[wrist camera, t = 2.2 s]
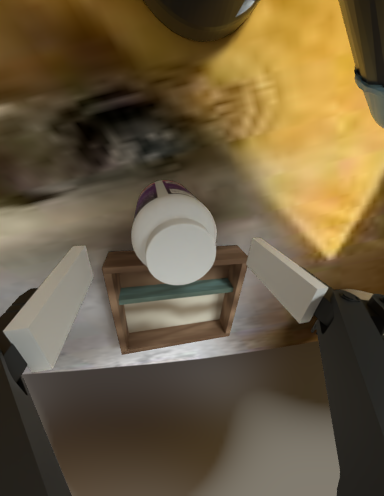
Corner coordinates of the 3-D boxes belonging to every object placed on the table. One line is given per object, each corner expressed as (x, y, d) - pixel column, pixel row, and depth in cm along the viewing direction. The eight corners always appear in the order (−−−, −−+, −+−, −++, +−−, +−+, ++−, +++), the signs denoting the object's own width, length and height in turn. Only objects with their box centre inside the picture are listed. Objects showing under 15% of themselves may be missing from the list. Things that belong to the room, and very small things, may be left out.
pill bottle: (149, 238, 27) (149, 309, 15) (128, 188, 23) (103, 227, 11) (197, 223, 28) (236, 279, 15) (185, 171, 23) (224, 191, 11)
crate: (108, 251, 27) (101, 268, 23) (237, 245, 31) (249, 258, 28) (124, 333, 36) (121, 354, 32) (221, 318, 41) (229, 335, 37)
